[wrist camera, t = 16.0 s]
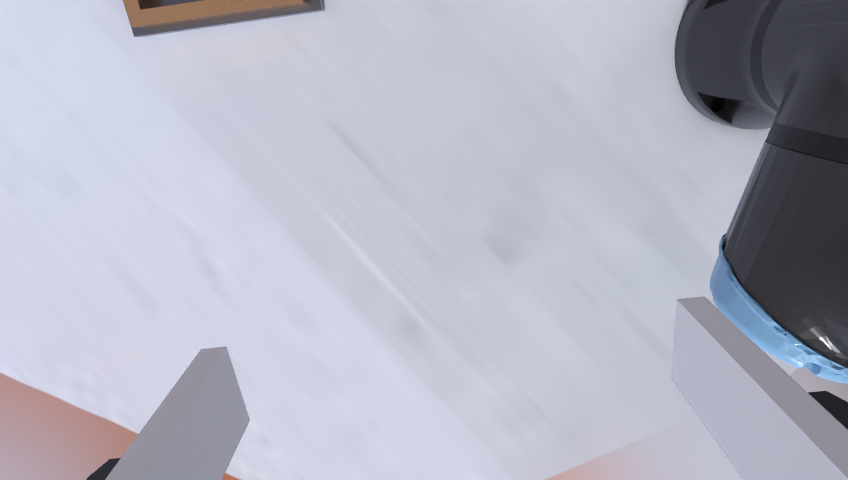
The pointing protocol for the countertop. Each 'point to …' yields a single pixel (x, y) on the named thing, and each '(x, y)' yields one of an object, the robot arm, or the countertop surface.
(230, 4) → the rectangular wooden frame
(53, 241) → the countertop surface
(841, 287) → the robot arm
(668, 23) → the countertop surface
